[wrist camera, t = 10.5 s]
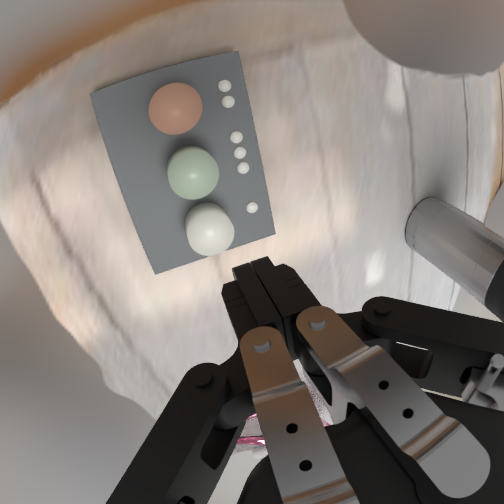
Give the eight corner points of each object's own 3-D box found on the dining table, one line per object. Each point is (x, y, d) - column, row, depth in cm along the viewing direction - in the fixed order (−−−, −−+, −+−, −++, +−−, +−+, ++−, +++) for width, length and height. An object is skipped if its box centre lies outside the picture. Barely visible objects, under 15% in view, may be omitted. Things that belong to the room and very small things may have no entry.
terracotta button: (191, 79, 24) (195, 76, 21) (202, 123, 26) (208, 126, 24) (144, 92, 23) (142, 91, 21) (156, 137, 26) (156, 141, 23)
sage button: (206, 139, 27) (212, 143, 25) (217, 181, 29) (224, 190, 27) (161, 153, 26) (161, 159, 24) (174, 195, 29) (176, 206, 26)
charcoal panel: (232, 53, 26) (238, 50, 24) (269, 226, 36) (276, 234, 34) (94, 93, 24) (89, 93, 22) (154, 265, 34) (155, 275, 32)
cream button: (221, 196, 30) (228, 206, 28) (231, 234, 33) (238, 247, 30) (179, 210, 30) (181, 222, 27) (191, 247, 32) (195, 262, 29)
